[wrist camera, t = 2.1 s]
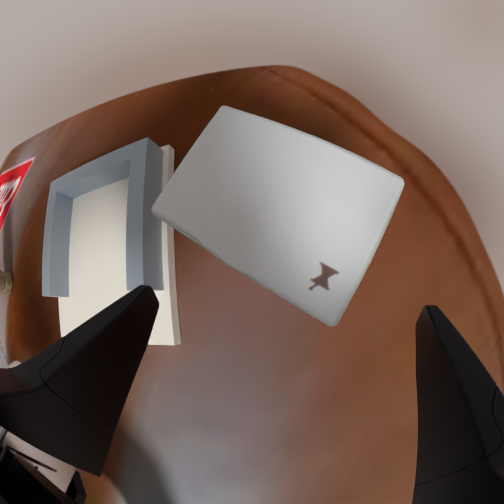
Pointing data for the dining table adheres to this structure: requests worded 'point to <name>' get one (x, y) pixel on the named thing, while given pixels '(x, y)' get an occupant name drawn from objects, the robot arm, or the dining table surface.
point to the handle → (5, 283)
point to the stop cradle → (111, 237)
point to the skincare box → (282, 208)
